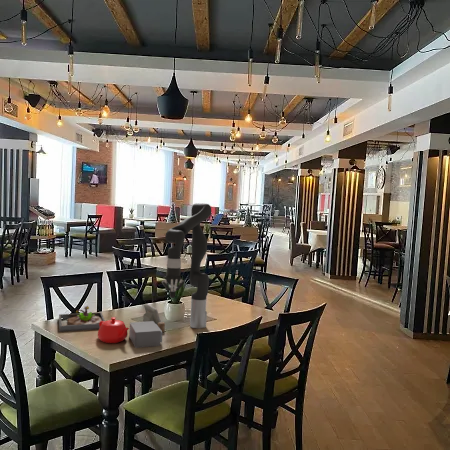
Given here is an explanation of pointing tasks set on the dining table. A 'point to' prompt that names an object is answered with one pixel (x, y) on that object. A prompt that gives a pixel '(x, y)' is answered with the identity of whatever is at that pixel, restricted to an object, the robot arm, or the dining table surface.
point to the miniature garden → (84, 318)
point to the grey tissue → (151, 314)
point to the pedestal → (161, 326)
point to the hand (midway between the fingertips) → (172, 297)
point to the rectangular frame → (78, 327)
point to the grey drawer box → (161, 335)
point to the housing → (144, 334)
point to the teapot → (112, 331)
